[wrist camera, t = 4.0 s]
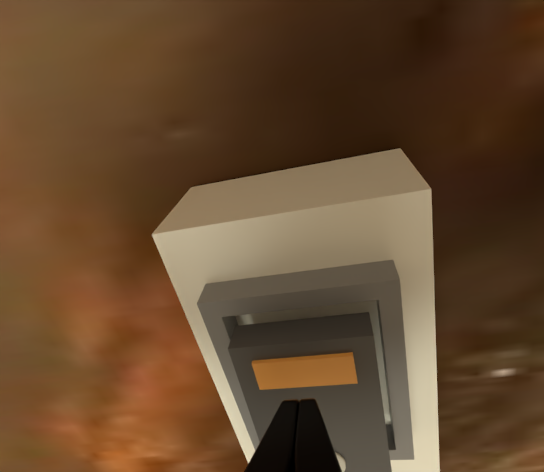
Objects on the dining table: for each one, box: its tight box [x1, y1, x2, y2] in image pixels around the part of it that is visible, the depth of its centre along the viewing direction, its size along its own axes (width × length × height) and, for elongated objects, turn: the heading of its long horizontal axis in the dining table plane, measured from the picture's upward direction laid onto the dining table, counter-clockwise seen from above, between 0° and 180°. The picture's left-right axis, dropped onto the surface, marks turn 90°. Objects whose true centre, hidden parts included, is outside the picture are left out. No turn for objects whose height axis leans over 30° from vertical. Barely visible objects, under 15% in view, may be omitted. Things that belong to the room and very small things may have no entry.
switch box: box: [152, 148, 440, 472], centre depth 17 cm, size 24×8×5 cm, turn 13°
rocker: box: [228, 312, 392, 472], centre depth 11 cm, size 6×4×1 cm, turn 13°
